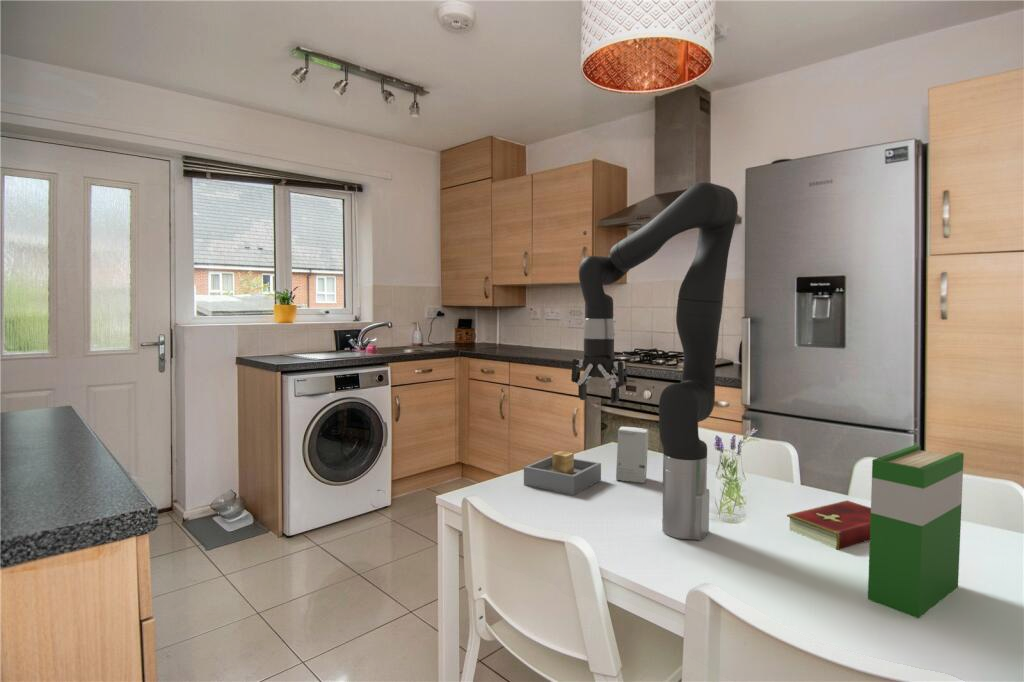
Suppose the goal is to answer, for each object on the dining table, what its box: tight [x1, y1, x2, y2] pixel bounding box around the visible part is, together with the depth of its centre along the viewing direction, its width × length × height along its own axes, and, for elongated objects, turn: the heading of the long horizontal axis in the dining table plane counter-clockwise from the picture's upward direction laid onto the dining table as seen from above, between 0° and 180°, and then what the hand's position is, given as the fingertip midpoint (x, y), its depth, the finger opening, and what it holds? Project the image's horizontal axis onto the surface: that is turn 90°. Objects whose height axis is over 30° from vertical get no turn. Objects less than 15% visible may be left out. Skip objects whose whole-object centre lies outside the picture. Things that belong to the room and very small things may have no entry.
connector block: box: [551, 450, 575, 475], centre depth 162 cm, size 4×4×8 cm
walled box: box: [523, 455, 602, 496], centre depth 162 cm, size 16×16×5 cm
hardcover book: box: [786, 500, 871, 551], centre depth 126 cm, size 12×21×4 cm, turn 116°
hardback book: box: [867, 444, 965, 619], centre depth 98 cm, size 18×7×24 cm, turn 126°
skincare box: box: [615, 425, 650, 484], centre depth 164 cm, size 8×6×15 cm
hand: (598, 401), depth 143 cm, fingers open, 8 cm apart
